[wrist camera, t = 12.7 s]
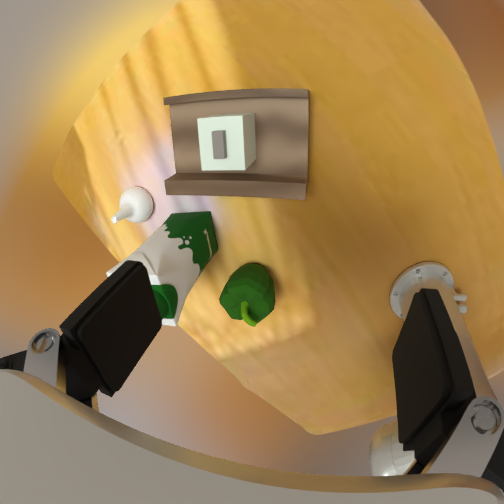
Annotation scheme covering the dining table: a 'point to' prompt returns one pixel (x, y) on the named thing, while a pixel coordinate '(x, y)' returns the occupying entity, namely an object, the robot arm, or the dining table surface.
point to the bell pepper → (249, 294)
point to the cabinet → (227, 141)
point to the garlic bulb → (134, 205)
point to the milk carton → (176, 259)
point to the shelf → (267, 144)
